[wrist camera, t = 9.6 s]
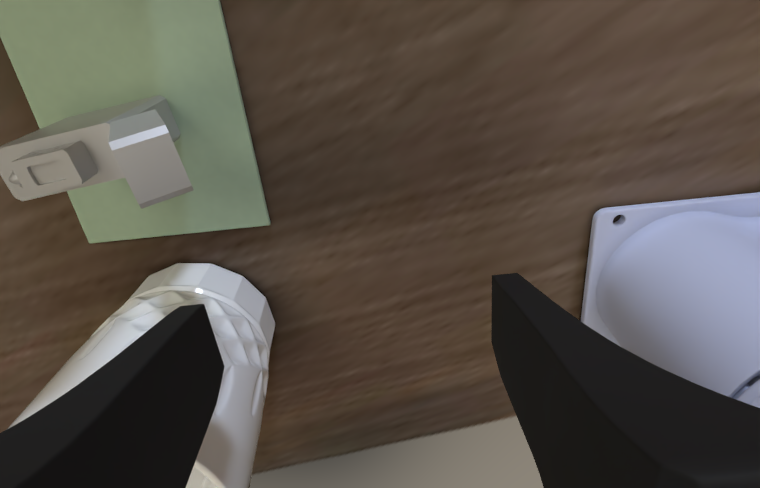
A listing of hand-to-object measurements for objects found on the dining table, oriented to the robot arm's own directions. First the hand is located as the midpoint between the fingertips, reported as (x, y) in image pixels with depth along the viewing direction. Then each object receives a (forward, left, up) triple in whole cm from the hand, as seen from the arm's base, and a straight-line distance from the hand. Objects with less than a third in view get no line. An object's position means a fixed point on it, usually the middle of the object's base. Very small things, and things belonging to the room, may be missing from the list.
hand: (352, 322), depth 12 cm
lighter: (+7, -4, -9) cm, 12 cm away
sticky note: (+8, -4, -9) cm, 13 cm away
